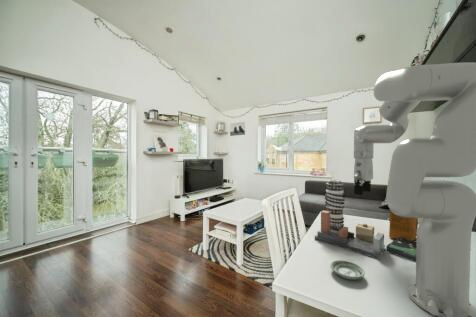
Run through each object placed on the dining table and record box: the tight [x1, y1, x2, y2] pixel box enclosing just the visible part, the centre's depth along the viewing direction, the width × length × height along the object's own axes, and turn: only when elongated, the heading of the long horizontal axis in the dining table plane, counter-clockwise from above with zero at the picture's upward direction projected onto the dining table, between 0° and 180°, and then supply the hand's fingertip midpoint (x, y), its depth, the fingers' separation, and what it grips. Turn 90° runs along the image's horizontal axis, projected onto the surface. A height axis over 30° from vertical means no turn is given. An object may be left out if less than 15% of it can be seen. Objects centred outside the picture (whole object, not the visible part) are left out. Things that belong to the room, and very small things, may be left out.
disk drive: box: [385, 237, 417, 262], centre depth 79 cm, size 10×3×15 cm
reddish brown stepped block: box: [320, 210, 349, 238], centre depth 90 cm, size 7×10×10 cm
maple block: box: [355, 222, 375, 242], centre depth 90 cm, size 5×6×7 cm
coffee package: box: [388, 209, 419, 241], centre depth 91 cm, size 10×12×22 cm
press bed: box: [314, 227, 386, 259], centre depth 86 cm, size 11×24×6 cm, turn 44°
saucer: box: [329, 259, 366, 280], centre depth 64 cm, size 10×10×2 cm
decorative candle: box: [324, 179, 346, 229], centre depth 100 cm, size 9×9×25 cm
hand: (362, 192), depth 91 cm, fingers open, 9 cm apart
